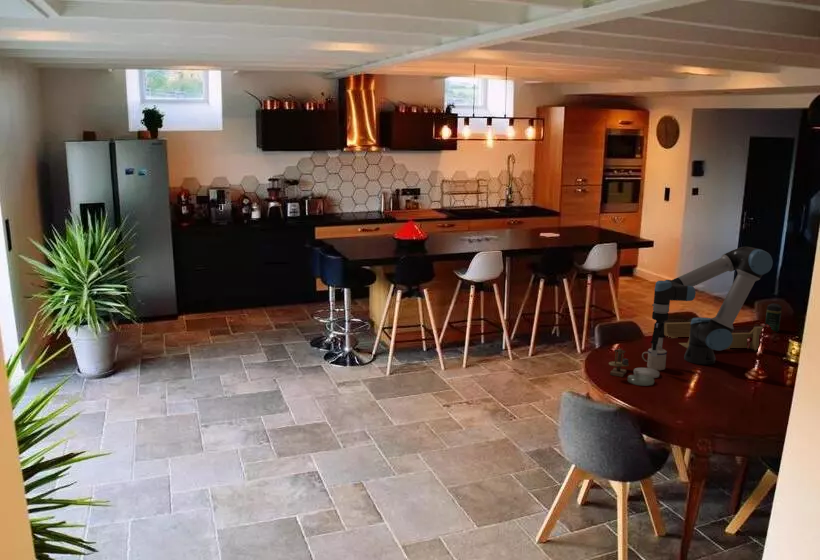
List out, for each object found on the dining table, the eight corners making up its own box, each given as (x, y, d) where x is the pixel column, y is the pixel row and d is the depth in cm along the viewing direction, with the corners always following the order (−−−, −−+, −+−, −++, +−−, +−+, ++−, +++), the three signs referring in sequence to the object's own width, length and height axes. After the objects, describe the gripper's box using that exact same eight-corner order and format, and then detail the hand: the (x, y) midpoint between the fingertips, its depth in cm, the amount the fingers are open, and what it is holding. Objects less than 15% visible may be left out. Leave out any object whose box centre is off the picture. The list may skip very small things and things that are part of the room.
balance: (617, 367, 347) (619, 340, 344) (629, 369, 344) (631, 342, 341) (606, 378, 328) (608, 350, 326) (619, 380, 325) (621, 352, 323)
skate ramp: (724, 336, 412) (727, 310, 410) (763, 353, 378) (767, 324, 375) (663, 338, 406) (665, 311, 403) (697, 355, 372) (699, 326, 369)
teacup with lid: (668, 367, 348) (669, 345, 345) (662, 371, 340) (664, 349, 338) (644, 363, 355) (646, 341, 353) (638, 367, 348) (640, 344, 346)
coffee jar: (777, 336, 413) (781, 306, 410) (763, 334, 418) (766, 304, 414) (779, 333, 421) (783, 303, 418) (765, 331, 426) (768, 301, 422)
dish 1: (661, 373, 338) (661, 370, 338) (656, 379, 328) (657, 376, 327) (636, 369, 344) (636, 366, 344) (631, 375, 334) (631, 372, 333)
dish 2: (656, 380, 327) (656, 377, 327) (651, 387, 317) (651, 384, 316) (630, 376, 333) (630, 373, 332) (624, 382, 322) (625, 379, 322)
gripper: (657, 306, 354) (653, 346, 358) (647, 315, 333) (643, 357, 336) (672, 308, 350) (668, 348, 354) (663, 317, 329) (659, 360, 333)
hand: (656, 353), depth 345 cm, fingers open, 13 cm apart
